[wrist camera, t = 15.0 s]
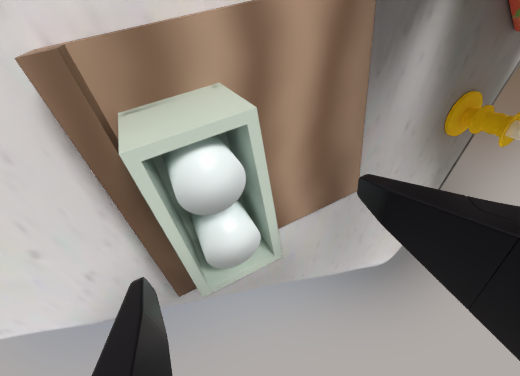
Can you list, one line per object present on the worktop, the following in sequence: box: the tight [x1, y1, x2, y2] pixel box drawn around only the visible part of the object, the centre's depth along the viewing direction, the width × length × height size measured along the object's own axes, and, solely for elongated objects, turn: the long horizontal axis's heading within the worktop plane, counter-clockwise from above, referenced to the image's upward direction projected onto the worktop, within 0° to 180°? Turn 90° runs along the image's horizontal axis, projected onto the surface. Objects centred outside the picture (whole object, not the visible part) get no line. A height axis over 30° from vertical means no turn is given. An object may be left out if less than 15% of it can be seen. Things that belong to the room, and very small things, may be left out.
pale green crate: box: [118, 83, 283, 298], centre depth 16 cm, size 6×11×6 cm, turn 11°
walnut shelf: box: [15, 0, 376, 297], centre depth 19 cm, size 20×18×3 cm
